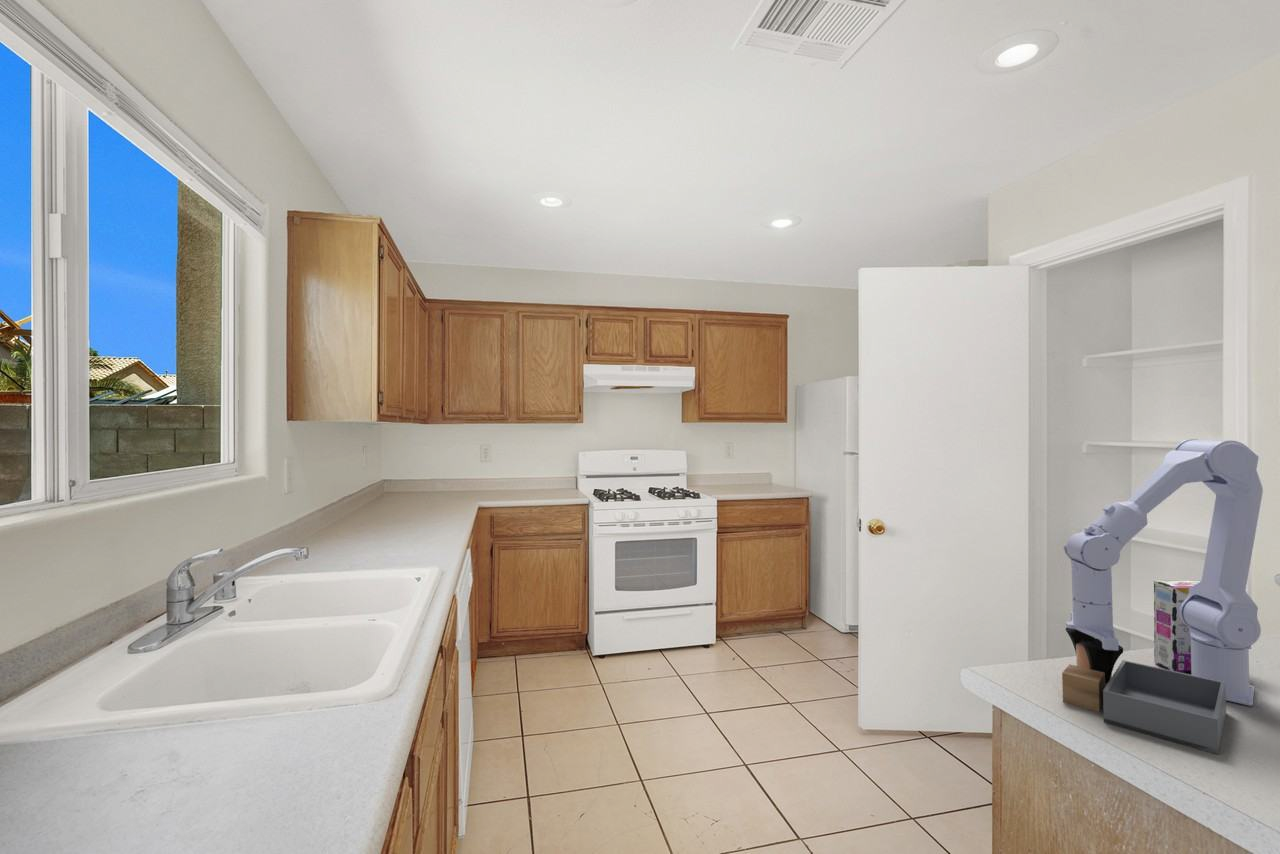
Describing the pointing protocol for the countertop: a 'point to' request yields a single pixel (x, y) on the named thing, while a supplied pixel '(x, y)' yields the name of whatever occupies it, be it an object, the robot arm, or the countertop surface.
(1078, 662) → the terracotta cylinder
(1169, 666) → the candy bar box
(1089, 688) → the walnut cube
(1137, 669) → the box
